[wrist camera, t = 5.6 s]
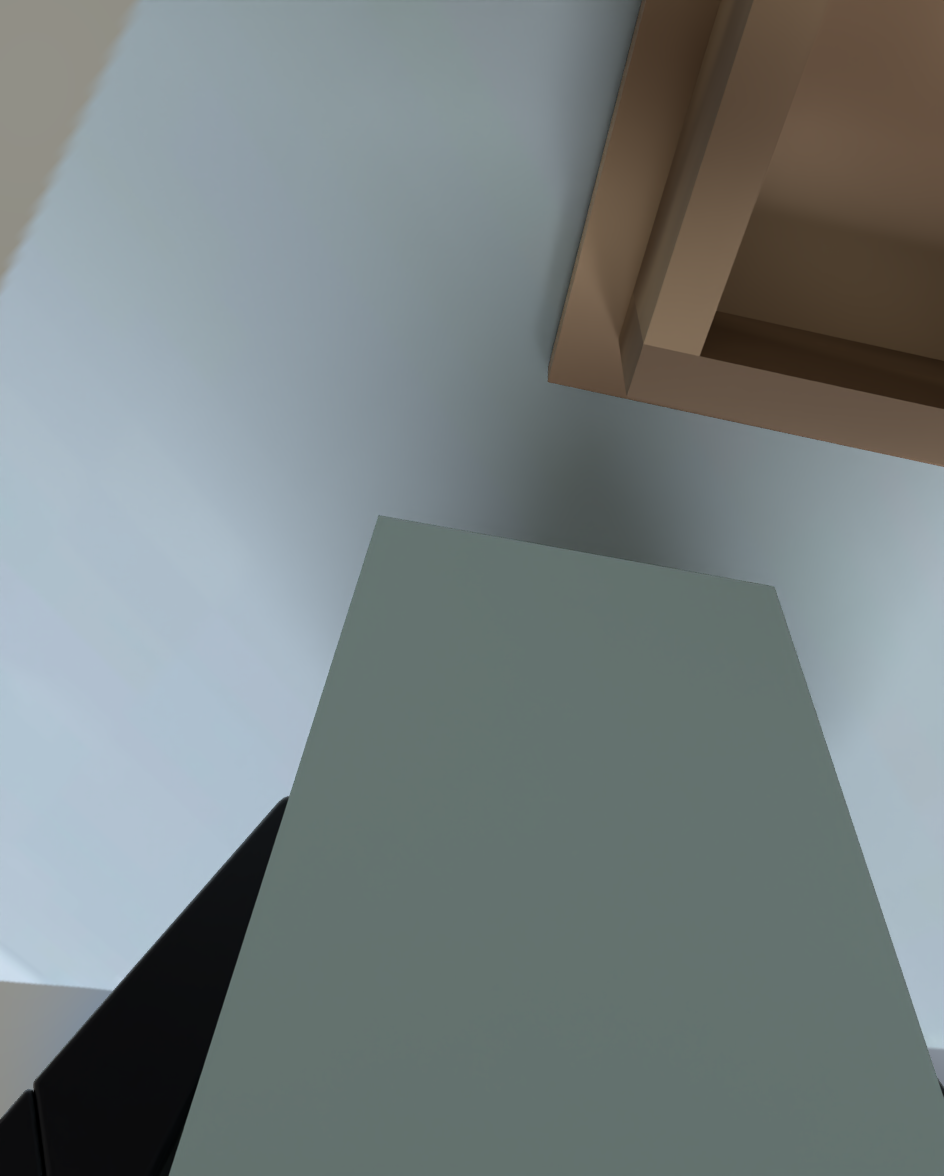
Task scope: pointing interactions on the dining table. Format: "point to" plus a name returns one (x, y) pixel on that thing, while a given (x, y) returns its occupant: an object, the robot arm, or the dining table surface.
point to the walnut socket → (772, 223)
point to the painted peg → (563, 897)
